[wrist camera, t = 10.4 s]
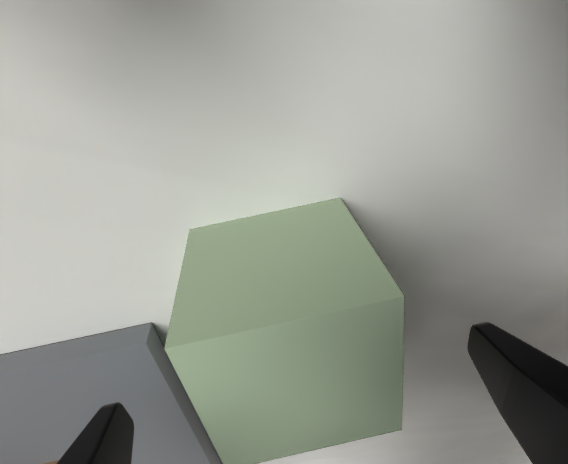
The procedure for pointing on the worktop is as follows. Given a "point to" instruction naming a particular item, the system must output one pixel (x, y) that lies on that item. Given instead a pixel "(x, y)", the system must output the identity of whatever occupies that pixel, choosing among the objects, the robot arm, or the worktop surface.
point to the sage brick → (288, 333)
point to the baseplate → (98, 399)
